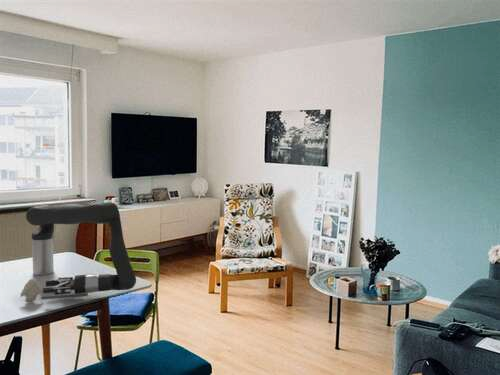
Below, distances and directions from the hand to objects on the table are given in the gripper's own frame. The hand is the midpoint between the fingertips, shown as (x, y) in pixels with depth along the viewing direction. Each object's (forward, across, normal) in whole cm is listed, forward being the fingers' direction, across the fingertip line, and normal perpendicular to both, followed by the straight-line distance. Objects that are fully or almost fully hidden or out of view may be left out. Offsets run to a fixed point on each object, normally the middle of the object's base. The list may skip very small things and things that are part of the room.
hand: (44, 286), depth 184 cm
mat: (-7, -14, +6) cm, 17 cm away
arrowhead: (+5, 0, +6) cm, 8 cm away
